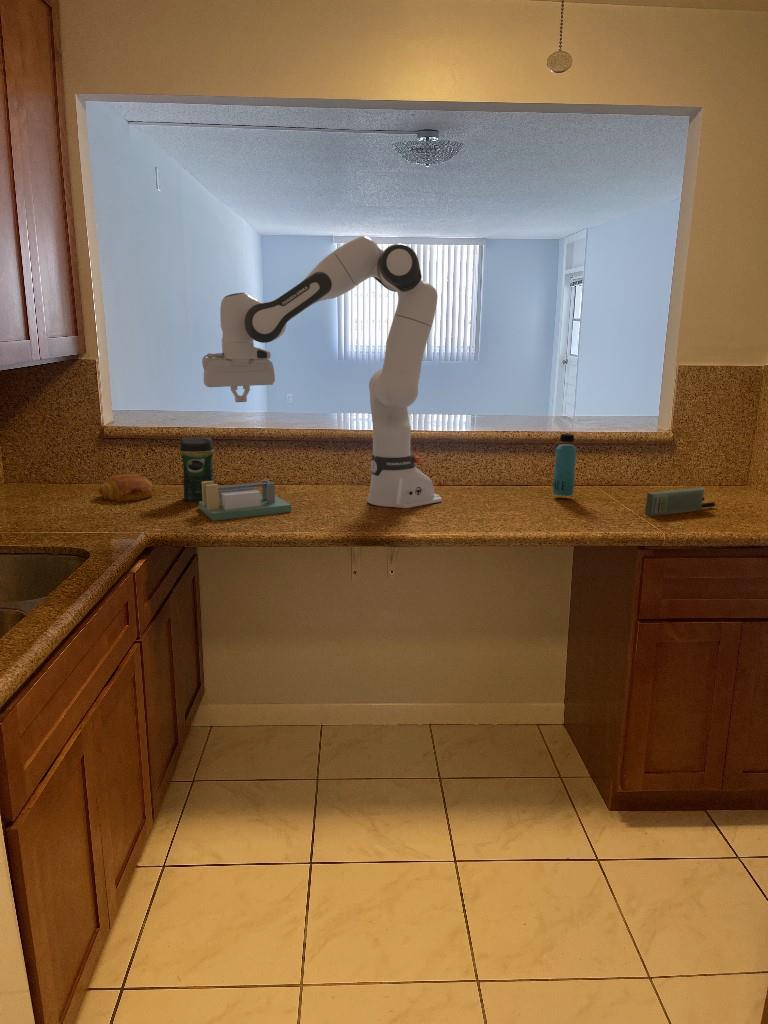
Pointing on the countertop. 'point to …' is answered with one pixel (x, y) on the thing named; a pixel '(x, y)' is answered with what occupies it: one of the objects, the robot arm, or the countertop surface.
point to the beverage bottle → (564, 467)
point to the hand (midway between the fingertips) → (241, 402)
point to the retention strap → (243, 485)
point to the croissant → (126, 488)
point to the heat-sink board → (240, 502)
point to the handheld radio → (675, 501)
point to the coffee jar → (196, 466)
